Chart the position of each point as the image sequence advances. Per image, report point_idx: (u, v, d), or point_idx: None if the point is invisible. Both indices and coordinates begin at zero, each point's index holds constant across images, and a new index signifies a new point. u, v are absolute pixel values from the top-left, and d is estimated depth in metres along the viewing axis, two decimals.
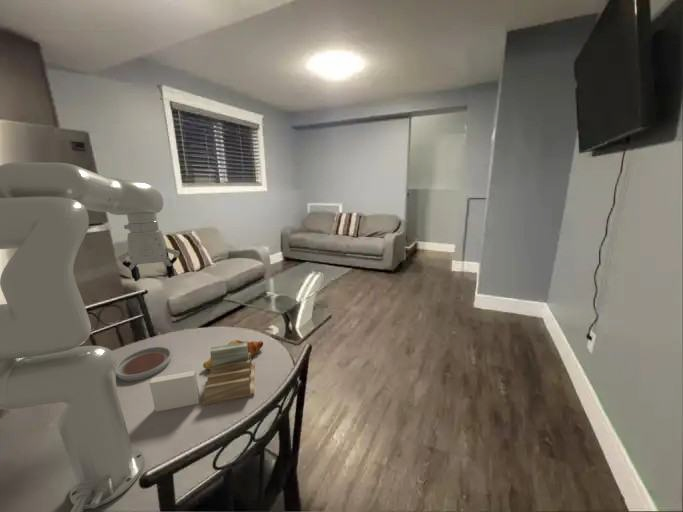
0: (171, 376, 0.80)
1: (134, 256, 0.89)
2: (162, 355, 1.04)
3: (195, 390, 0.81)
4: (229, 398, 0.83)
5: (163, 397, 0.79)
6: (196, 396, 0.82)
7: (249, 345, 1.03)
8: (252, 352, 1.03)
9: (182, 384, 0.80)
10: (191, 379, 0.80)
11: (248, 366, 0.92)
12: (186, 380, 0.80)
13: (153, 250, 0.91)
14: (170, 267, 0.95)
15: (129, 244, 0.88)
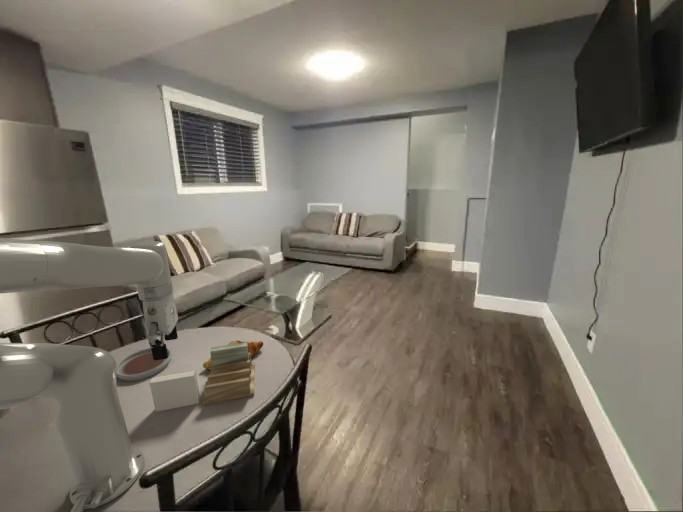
0: (171, 376, 0.80)
1: (169, 324, 0.73)
2: None
3: (195, 390, 0.81)
4: (229, 398, 0.83)
5: (163, 397, 0.79)
6: (196, 396, 0.82)
7: (249, 345, 1.03)
8: (252, 352, 1.02)
9: (182, 384, 0.80)
10: (191, 379, 0.80)
11: (248, 366, 0.92)
12: (186, 380, 0.80)
13: (174, 310, 0.78)
14: None
15: (165, 311, 0.71)
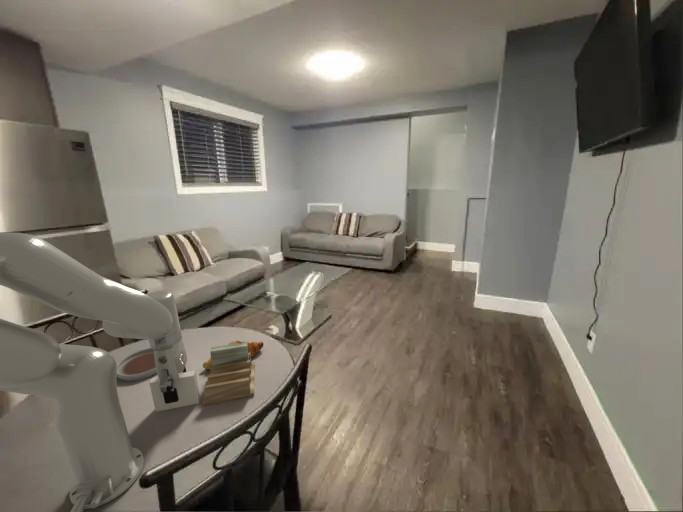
0: None
1: (179, 369, 0.76)
2: None
3: (195, 390, 0.81)
4: (229, 398, 0.83)
5: (163, 397, 0.79)
6: (196, 396, 0.82)
7: (249, 346, 1.02)
8: (252, 353, 1.02)
9: (182, 384, 0.80)
10: (191, 379, 0.80)
11: (248, 366, 0.92)
12: (186, 380, 0.80)
13: (183, 352, 0.81)
14: None
15: (175, 358, 0.75)
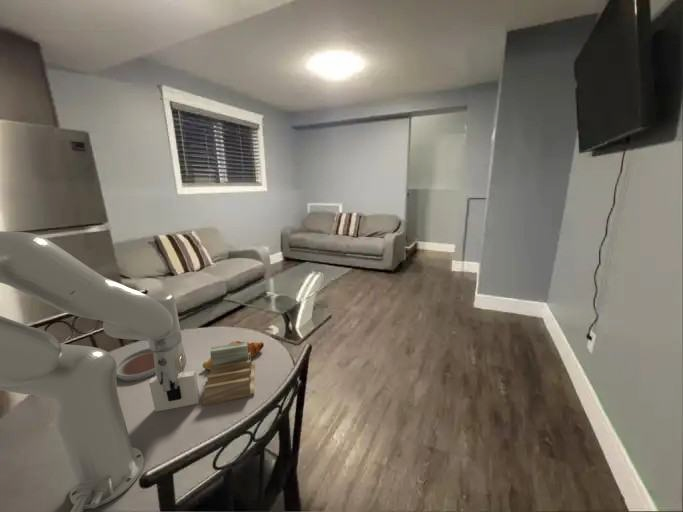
0: None
1: (178, 371, 0.76)
2: None
3: (195, 390, 0.81)
4: (229, 398, 0.83)
5: (163, 397, 0.79)
6: (196, 396, 0.82)
7: (249, 346, 1.02)
8: (252, 353, 1.02)
9: (182, 384, 0.80)
10: (191, 379, 0.80)
11: (248, 366, 0.92)
12: (186, 380, 0.80)
13: (182, 355, 0.81)
14: None
15: (174, 360, 0.74)
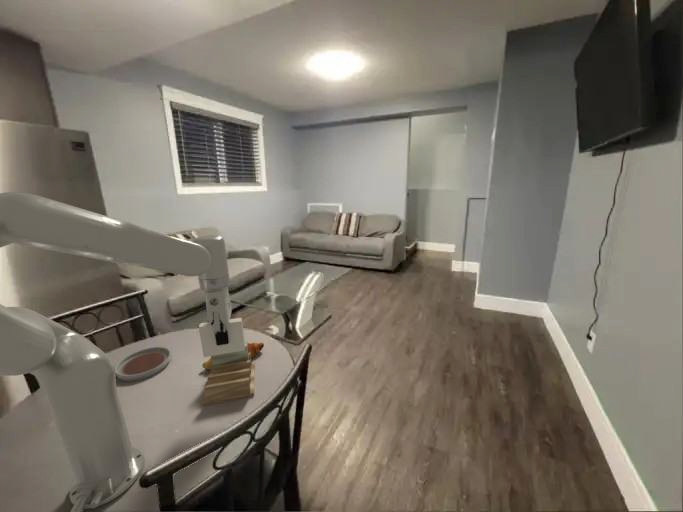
0: None
1: (228, 314, 0.76)
2: (162, 355, 1.04)
3: (242, 337, 0.82)
4: (229, 398, 0.83)
5: (211, 343, 0.80)
6: (242, 343, 0.82)
7: (249, 346, 1.02)
8: (252, 354, 1.02)
9: (230, 329, 0.80)
10: (238, 325, 0.80)
11: (248, 366, 0.92)
12: (234, 326, 0.80)
13: (229, 300, 0.81)
14: None
15: (225, 302, 0.75)
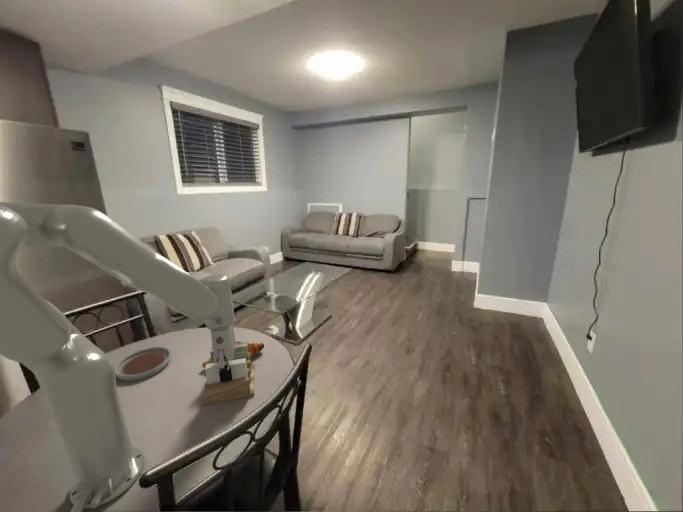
0: None
1: (232, 350, 0.79)
2: (162, 355, 1.03)
3: (246, 377, 0.85)
4: (229, 398, 0.83)
5: None
6: None
7: (249, 347, 1.02)
8: (252, 354, 1.02)
9: (234, 370, 0.83)
10: (242, 366, 0.84)
11: (248, 366, 0.92)
12: (238, 367, 0.83)
13: (234, 335, 0.84)
14: None
15: (230, 339, 0.78)
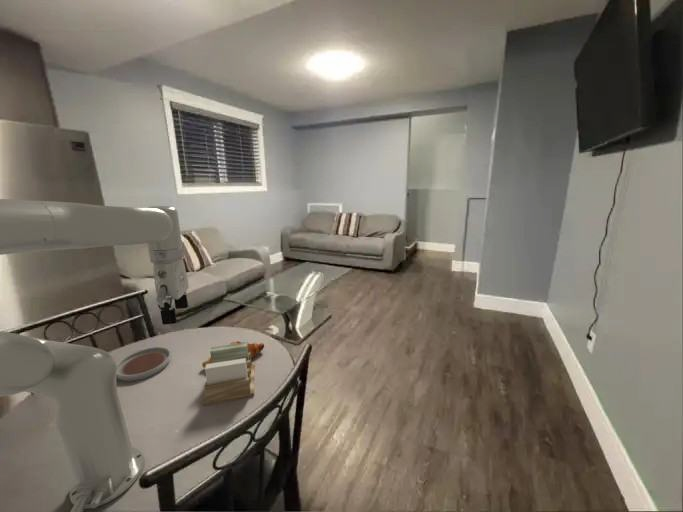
0: (224, 363, 0.83)
1: (178, 289, 0.73)
2: (162, 355, 1.03)
3: (246, 377, 0.85)
4: (229, 398, 0.83)
5: None
6: None
7: (249, 347, 1.02)
8: (252, 354, 1.01)
9: (234, 370, 0.83)
10: (242, 366, 0.84)
11: (248, 366, 0.92)
12: (238, 367, 0.83)
13: (184, 277, 0.78)
14: None
15: (174, 275, 0.71)
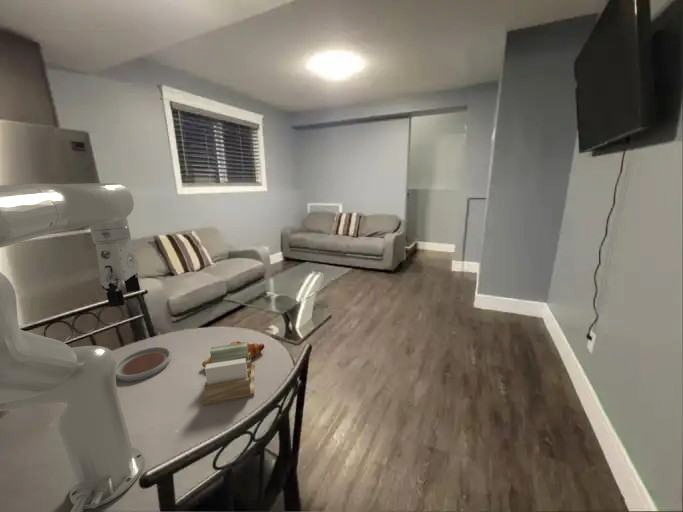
0: (224, 363, 0.83)
1: (125, 270, 0.71)
2: (161, 355, 1.03)
3: (246, 377, 0.85)
4: (229, 398, 0.83)
5: None
6: None
7: (249, 347, 1.02)
8: (251, 354, 1.01)
9: (234, 370, 0.83)
10: (242, 366, 0.84)
11: (248, 366, 0.92)
12: (238, 367, 0.83)
13: (133, 258, 0.76)
14: None
15: (120, 255, 0.69)
